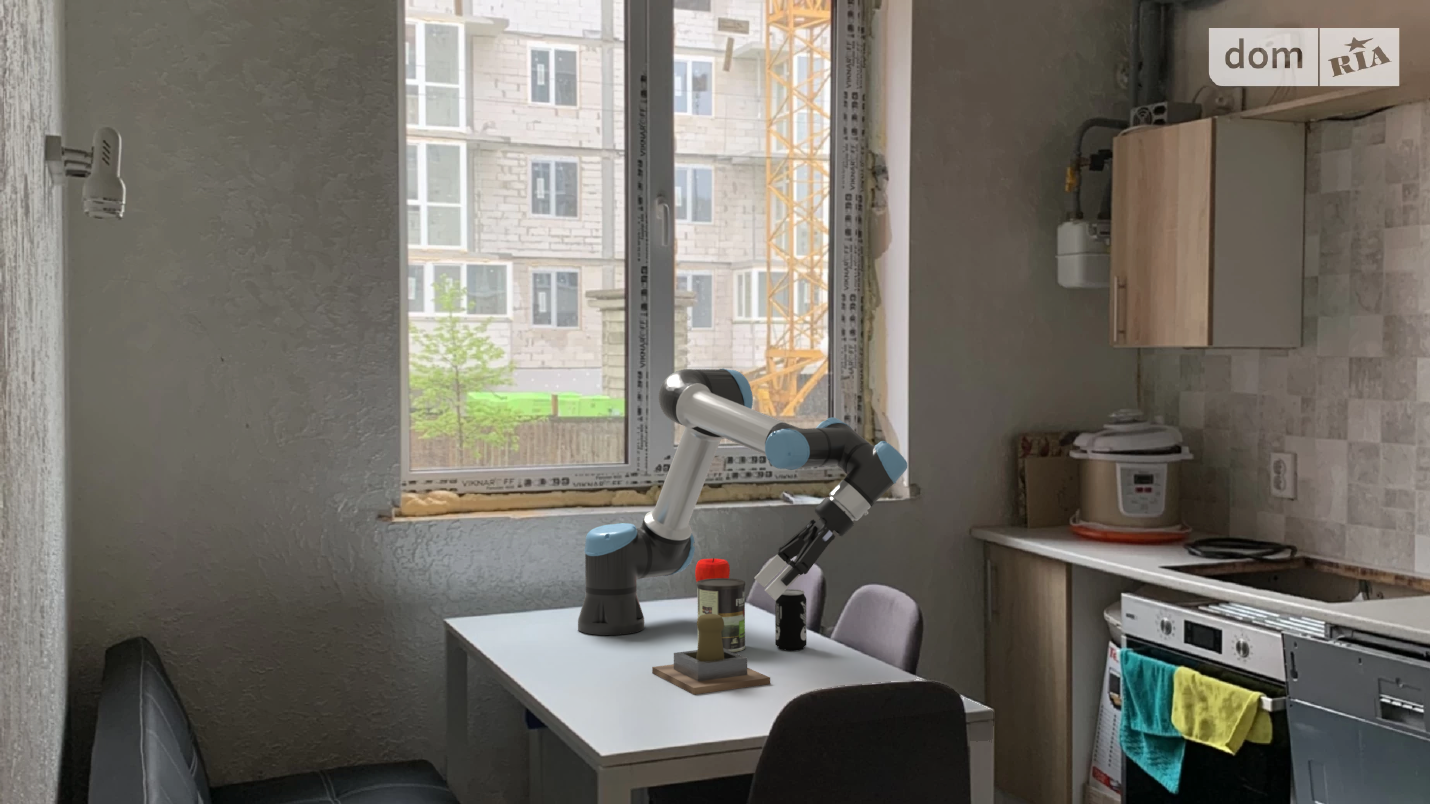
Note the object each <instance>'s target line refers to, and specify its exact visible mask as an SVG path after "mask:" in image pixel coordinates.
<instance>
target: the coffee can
mask: <svg viewBox="0 0 1430 804" xmlns="http://www.w3.org/2000/svg"><path fill="white" fill-rule="evenodd" d="M696 587H697V589H696V590H697V591H696V592H697V601H696V602H697V619H698V618H699V616H701V615H704V614H717V615H720V616H721V617H722V618H723V620H724V628H723V630H722V631H721V635H722V643H723V648H725V649H727V650H729V651H732V652H734V653H738V652H741V651H744V650H745V649H746V608H745V607H746V598H745V597H746V591H745V590H746V588H745V587H746V581H745V580H742V579H739V578H738V579H737V578H730V577H729V578H713V579H704V580H700V581H698V582H696ZM699 634H700V632H699V630H698V629H697V643H698V642H699ZM696 648H697V649H698V646H697V647H696Z"/></svg>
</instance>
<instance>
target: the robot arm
mask: <svg viewBox="0 0 1430 804" xmlns="http://www.w3.org/2000/svg"><path fill="white" fill-rule="evenodd" d="M753 397H754V395H753V391H752V389H751V384H750V383H749V380H748V379H747V378H746V377H745V376H744V374H742V373H741V372H740V371H739V370H738V371H737V370H734V369H727V368H724V367H723V368H718V369H717V368H715V369H710V368H709V369H706V368H704V369H703V368H702V369H700V368H699V369H698V368H695V369H692V368H683V369H680V370H677V371H674V372H673V373H671V374H669V375H668V376H667V377H666V378H665V379H664V380H663V382H662V383H661V385H660V388H659V391H658V403H659V407H660V409H661V412H662V413H663V414H664V415H665V416H666V418H668V419H669V420H670V421H673V422H674V423H676V424H678V425H682V426H683V427H684V429H683V432H682V434H681V436H680V439H679V442H678V444H677V448H676V451H675V453H674V456H673V459H672V461H671V464H670V467H669V469H668V472H667V475H666V478H665V480H664V483H663V485H662V487H661V491H660V493H659V496H658V498H657V500H656V501H657V502H656V504H655V507H654V508H653V509H654V510H651V511H648V512H647V513H646V514H645V515H644V518H643V521H642V523H641V525H640V527H639V528H637V527H636V525H635V524H633V523H627V522H624V523H614V524H612V523H611V524H610V523H609V524H605V525H604V524H603V525H600V526H596V527H594V528H592V529H591V530H589V531H588V532H587V534H586V536H585V544H584V545H585V546H584V549H583V550H584V554H585V559H584V560H585V561H584V562H585V564H584V565H585V569H584V570H585V572H584V574H585V580H584V581H585V597H584V600H583V603H582V607H581V609H580V613H579V615H578V619H577V629H578V631H579V632H581V633H584V634H588V635H597V636H618V635H619V636H620V635H628V634H634V633H638V632H641V631H644V630H645V616H644V612H643V610H642V607H641V604H640V600H639V598H638V594H637V593H638V592H637V591H638V588H637V583H638V582H637V581H638V580H642V579H650V578H658V577H668V576H673V575H675V574H678V573H681V572H683V571H685V570H686V569H687V568H688V567H689V565H690V564H691V563H692V561H693V559H694V556H695V550H696V547H695V546H694V544H695V538H694V536H693V529H692V527H691V524H690V520H691V517H692V515H693V512H695V508H696V505H697V502H698V501H699V497H700V496H701V492H702V489H703V487H704V484H705V482H706V479H707V477H708V474H709V471H710V469H711V467H712V464H713V461H714V459H715V456H716V453H717V451H718V449H719V446H720V443H721V440H723V439H726V440H727V441H730V442H732V443H735V444H737V445H739V446H742V447H744V448H746V449H749V450H751V451H754V452H755V453H759V454H760V455H762V456H765V457H766V459H767V461H768V462H769V463H770V464H771V466H773V467H774V468H777V469H780V470H782V469H783V470H790V471H792V470H797V469H798V470H799V469H808V468H819V467H831V466H832V467H834V466H836V467H837V468H839V470H841V471H842V472H844V473H845V474H846V476H845V477H844V478H843V479H842V480H841V481H840V482H838V484H837V485H836V486H835V487H834V488H833V489H832V490H831V491H830V492H829V493H828V495H829V497H825V498H823V500H822V501H821V502H820V503H818V505H817V506H816V507H815V508H814V513H815V514H816V516H817V517H818V518H819V519H818V520H817V521H816V520H815V519H810V521H809V522H808V523H807V524H806V525H805V526H804V527H802V528H801V529H800V530H799V531H798V532H797V533H796V534H794V535H793V536H792V537H791V538H790V539H788V540H787V541H785V543H784V544H782V545H781V546H779V548H778V549H777V551H778V552H777V554H776V555H775V556H774V557H773V558H772V559H771V560H770V561H769V562H768V563H767V564H766V565H765V566H764V567H763V568H762V569H761V570H760V571H759V572H758V574H756V575H755V576H754V578H753V579H755V580H756V582H757V583H758V584H759V585H760V586H761V587H763V588H764V592H766V593H767V594H768V595H769V596H770V597H771V598H772V599H773V600H774V602H775V601H776V600H777V599H778V598H779V597H780V596H781V594H782V593H783V592H784V591H785V590H786V589H789V587H790V586H792V584H793V583H794V582H795V581H796V580H798V578H799V577H800V576H802V575H803V574H804V575H806V574H808V573H809V571H810V569H812V567H813V566H814V564H815V563H816V562H817V560H819V557H821V555H822V554H823V553H824V551H825V550H826V549H827V548H828V546H829V545H830V544H831V542H832V541H833V540H835V538H836V535H837V536H839V537H844V536H845V535H846V534H847V532H849V531H850V530H851V529H852V528H853V526H854V521H859V520H860V519H861V518H862V517H863V516H868V515H869V511H868V510H870V508H871V507H873V506H874V505H875V503H876V502H877V501H878V500H879V499H880V498H881V497H882V496H883V495H884V494H885V493H887V491H888V490H890V488H892V487H893V485H895V484H897V481H898V480H899V479H900V477H902V476H903V474H904V473H906V470H907V469H908V461H906V459H905V457H904V456H903V455H902V453H900V452H899V451H898V450H897V449H896V448H895V447H894V446H893V445H892V444H890V443H889V442H887V441H885V440H881V441H879V442H878V443H877V444H875V445H874V444H871V443H870V442H869V441H868V440H867V439H865V438H863V436H861V435H860V434H859V433H858V432H857V431H856V430H854V429H853V427H852V426H850V425H849V424H848V423H845V422H844V421H842V420H841V419H840V418H837V417H828V418H826V420H823V421H821V422H820V423H819V424H818V425H817V426H816V427H812V428H802V427H797V426H795V425H792V424H790V423H787V422H785V421H783V420H780V419H777V418H775V417H773V416H770V415H768V414H765V413H762V412H760V411H757V410H755V409H753V403H754V399H753ZM833 532H834V533H835V534H836V535H835V534H834V533H833ZM794 558H795V559H794ZM793 559H794V560H793ZM783 569H784V570H783ZM782 570H783V571H782ZM781 571H782V572H781ZM778 574H779V575H778ZM776 576H777V577H776ZM775 577H776V578H775Z"/></svg>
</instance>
